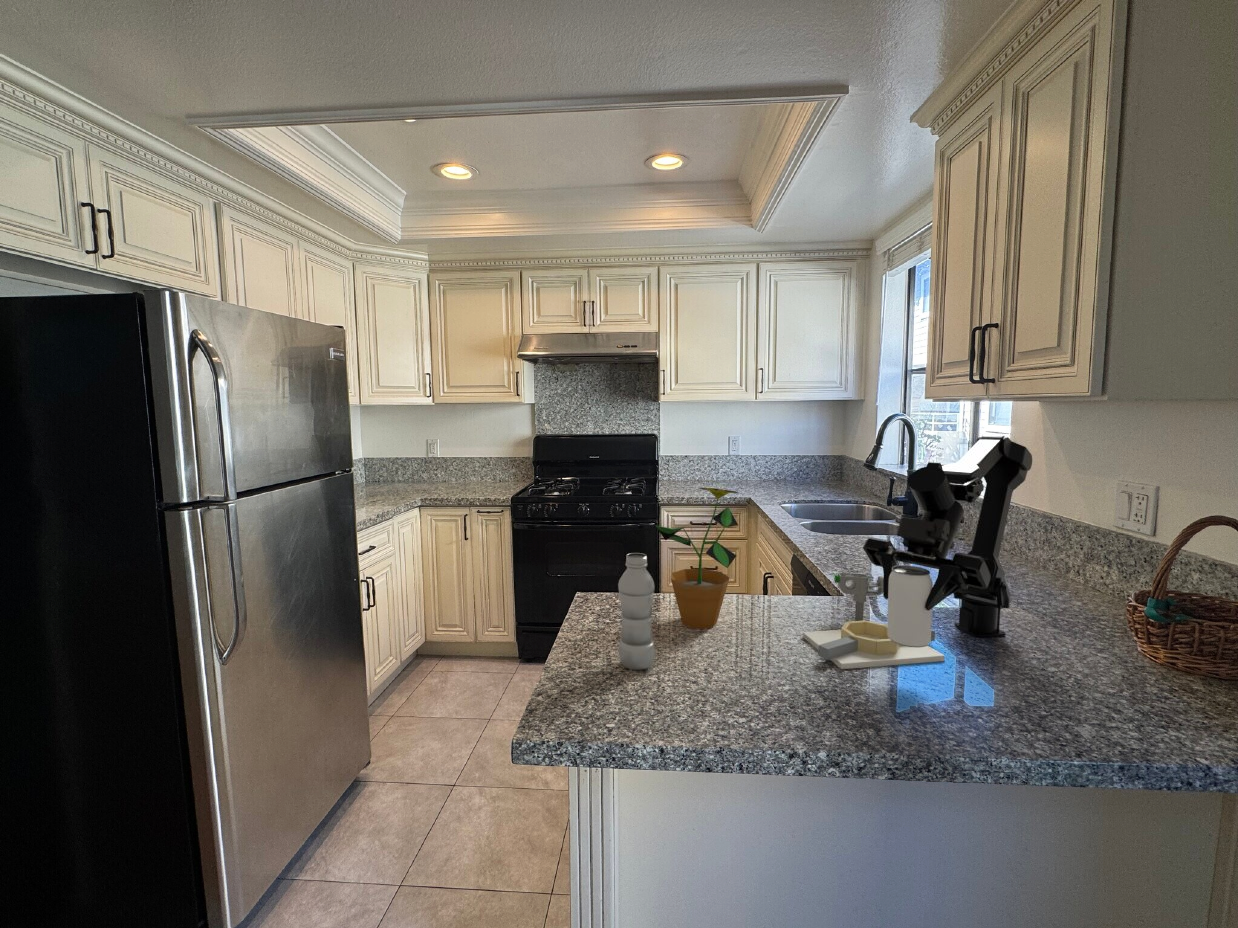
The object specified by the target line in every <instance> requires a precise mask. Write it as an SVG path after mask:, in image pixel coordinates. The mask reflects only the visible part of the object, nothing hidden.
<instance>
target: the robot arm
mask: <svg viewBox="0 0 1238 928" xmlns="http://www.w3.org/2000/svg"><path fill="white" fill-rule="evenodd" d="M1032 465H1033V454H1032V453H1031V452H1030V450H1029V449H1028V448H1027V447H1026V446H1024V445H1023V444H1022V445H1021V444H1019V443H1018V442H1015V441H1012V440H1011V439H1010V437H1008V436H1005V435H989V434H988V435H986V434H983V435H982V436H981V435H979V436H978V437H977V438H976V440H975V443H974V445H973V446H972V447H971V448H969V450H968V451H967V452H966V453H964V455H963V456H962V457H961V458H960V459H959V460H958V461H957V462H954V463H949V464H945V465H942V463H941V462H935V461H934V462H933V461H932V462H930V461H928V462H927V463H926V466H924V467H920V468H918V469H916V470H915V471H913V472H912V473H910V474H909V475H908V478H907V484H908V487H909V489H910V490H911V494H912V495H913V497H914V500H915V501H916V503H917V505H918V507H919V508H920V509H922V510H923V511H924V512H923V513H922V516H921V518H920V519H918V518H912V517H911V518H910V517H905V516H903V517H900V521H899V524H898V527H897V532H896V536H897V537H899V538H900V537H901V538H902V539H903V540H902V542H901V543H902V545H903V547H906V548H907V550H903V549H896V548H895V546H894V544H893V543H892V541H891V540H889V539H884V538H879V537H878V538H877V537H869V538H867V539H866V540H865V542H864V544H863V546H862V549H863V550H864V553H866V556H867V558H868V559H869V561H870V563H872V564H873V565H874V566H876V567H881V568H882V571H883V573H882V574H883V593H882V596H883V598H884V600H888V585H889V576H890V574H891V572H892V567H894V566H900V562H901V563H906V564H910V565H911V564H912V565H914V566H920V567H923V568H924V567H925V568H930V569H934V570H935V569H936V570H938V572H937V573H938V574H937V578H936V579H935V582H934V584H933V588H932V590H931V592H930V594H929V596H928V598H927V601H926V604H925V608H926V610H928V611H929V610H931V609H932V610H933V608H935V607H936V606H937V605H939V603H941V602H942V601H944V600H945V599H946V598H948V597H950V596H951V595H953V599H957V600H958V599H959V600H961V606H960V607H959V614H958V615H959V617H958V622H954V626H955V627H957V628H959V629H960V630H962V631H965V632H967V633H968V634H969V635H972V636H974V637H976V638H987V637H1002V636H1006V634H1007V632H1005V631H1003V630H1001V629H1000V627H1001V625H1000V624H1001V610H1002V609H1010V605H1011V591H1010V589H1009V587H1008V584H1007V581H1006V579H1005V575H1006V572H1005V570H1004V568H1003V565H1002V564H1001V562H1000V559H999V556H1000V551H1001V547H1002V542H1003V538H1004V534H1005V528H1006V524H1007V519H1008V515H1009V510H1010V507H1011V506H1010V505H1011V502H1012V497H1013V492H1014V490H1016V489H1017V488H1019V486H1020V485H1022V484H1023V483H1024V482H1025V481H1026V477H1027V475H1028V472H1029V471H1030V470H1031V468H1032ZM983 479H984V481H985V483H986V484H985V485H984V484H983ZM982 492H984V493H983V494H984V495H983V499H982V501H981V502H982V503H981V508H980V511H979V516H978V521H977V525H976V529H975V533H974V538H973V541H972V542H973V543H972V548H971V550H970V551H969V552H968V553H962V552H956V553H954V555H953V557H952V559H948V558H947V555H948V553H949V551H950V550H953V549H954V547H955V541H954V538H955V536H956V534H957V532H958V529H959V525H960V524H964V523H965V516H964V514H965V510H964V508H963V505H962V504H961V503H968V504H973V503H974V502H976V501H977V499H978V498H980V497H981V496H982Z"/></svg>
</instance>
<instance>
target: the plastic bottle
mask: <svg viewBox="0 0 1238 928" xmlns="http://www.w3.org/2000/svg"><path fill="white" fill-rule="evenodd" d="M625 560H626V561H625V567H626V569H625V571H624V572H623V574H622V575H621V577H620V578H619V580H618V583H617V586H618V587H617V588H618V594H619V601H620V610H621V627H620V628H621V629H620V630H621V631H620V639H619V642H618V643H619V645H618V658H619V661H620V663H621V664H622V666H623V667H624V668H627V669H629V670H633V671H640V670H641V671H644V670H646V669H648V668H650V667H651V666H652V664H654V661H655V656H656V648H655V641H654V639H653V636H654V635H653V626H652V625H653V624H652V621H653V620H652V619H653V616H652V615H653V603H654V595H655V586H656V585H655V582H654V579H653V577H652V576H651V574H650V572H649V571H648V570H647V567H648V557H647V554H645V553H642V552H641V553H640V552H630V553H628V554H626V559H625Z"/></svg>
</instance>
